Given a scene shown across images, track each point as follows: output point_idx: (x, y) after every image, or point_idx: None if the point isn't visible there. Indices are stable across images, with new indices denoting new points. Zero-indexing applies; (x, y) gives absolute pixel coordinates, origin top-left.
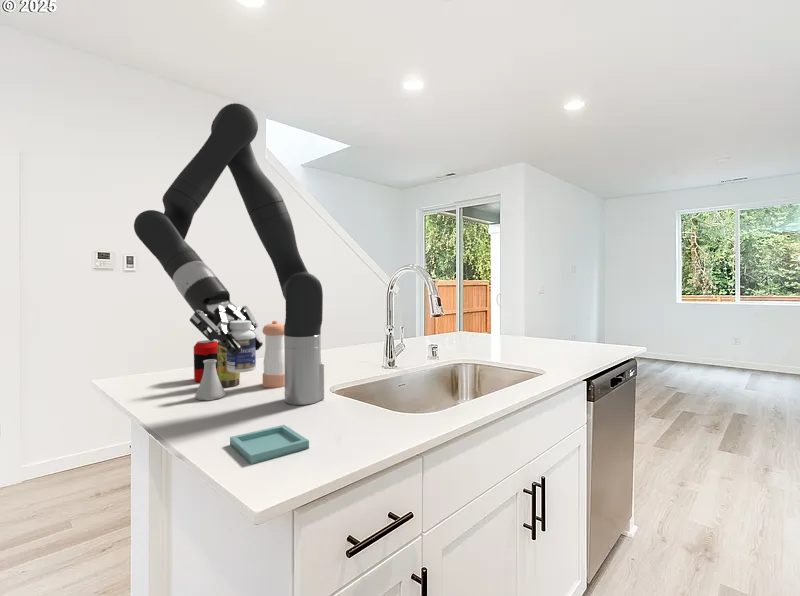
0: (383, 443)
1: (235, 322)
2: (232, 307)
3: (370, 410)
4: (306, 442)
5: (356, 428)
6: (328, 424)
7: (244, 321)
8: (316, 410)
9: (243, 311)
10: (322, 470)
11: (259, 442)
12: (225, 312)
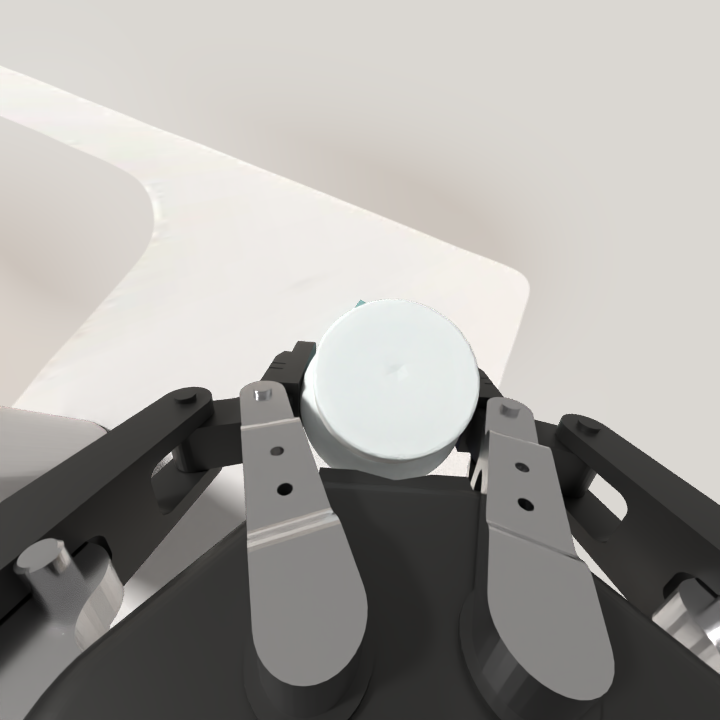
0: (307, 220)
1: (473, 360)
2: (293, 581)
3: (141, 285)
4: (364, 303)
5: (252, 274)
6: (242, 326)
7: (394, 335)
8: (154, 391)
9: (59, 565)
10: (419, 258)
11: None
12: (415, 591)
